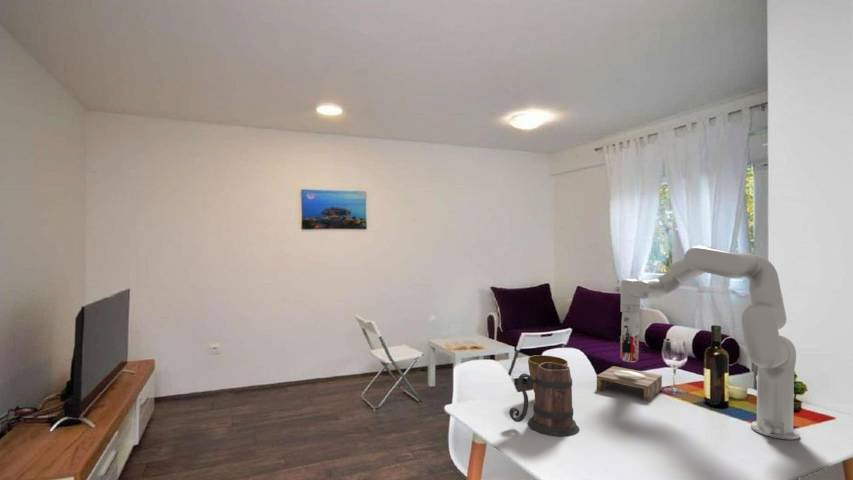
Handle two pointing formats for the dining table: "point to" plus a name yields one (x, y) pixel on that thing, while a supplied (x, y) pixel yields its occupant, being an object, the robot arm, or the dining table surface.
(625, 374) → the stand
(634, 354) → the soda can
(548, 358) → the plant pot
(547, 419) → the tankard
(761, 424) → the robot arm
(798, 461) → the dining table surface
